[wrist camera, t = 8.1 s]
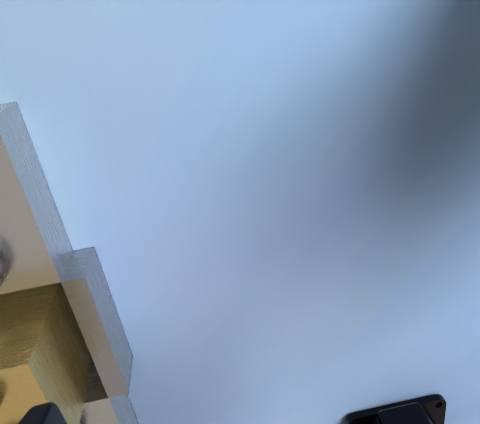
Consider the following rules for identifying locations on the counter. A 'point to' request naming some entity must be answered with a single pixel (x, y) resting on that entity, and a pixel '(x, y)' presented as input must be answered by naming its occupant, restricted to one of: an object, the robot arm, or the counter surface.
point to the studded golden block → (41, 354)
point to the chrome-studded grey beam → (59, 270)
